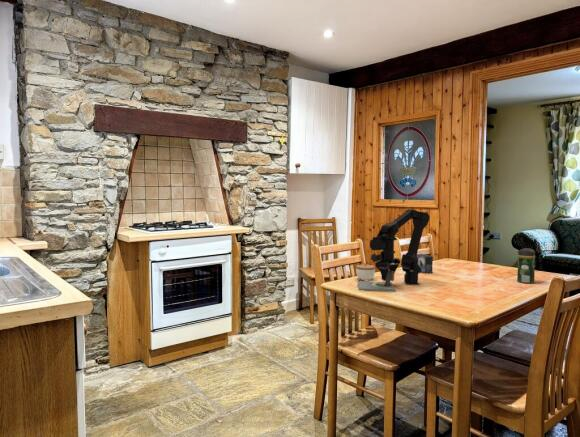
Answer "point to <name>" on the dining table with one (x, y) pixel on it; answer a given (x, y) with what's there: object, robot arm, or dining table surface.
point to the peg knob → (387, 279)
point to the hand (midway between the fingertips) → (387, 279)
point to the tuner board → (374, 286)
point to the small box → (425, 263)
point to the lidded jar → (365, 271)
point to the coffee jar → (526, 265)
